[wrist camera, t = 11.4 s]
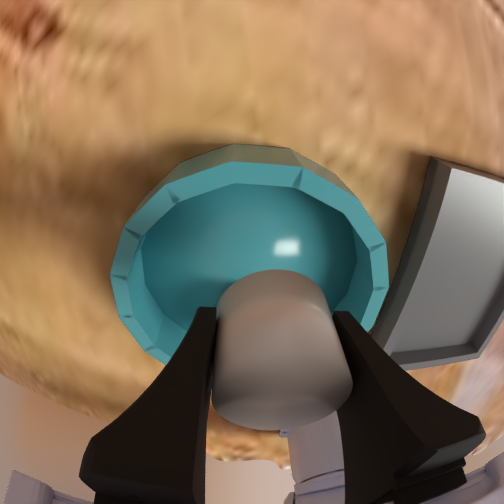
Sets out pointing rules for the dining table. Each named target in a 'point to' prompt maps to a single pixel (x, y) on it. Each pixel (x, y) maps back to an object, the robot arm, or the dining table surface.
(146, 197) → the bowl
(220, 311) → the stone
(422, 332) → the tray
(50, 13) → the dining table surface
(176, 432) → the robot arm
